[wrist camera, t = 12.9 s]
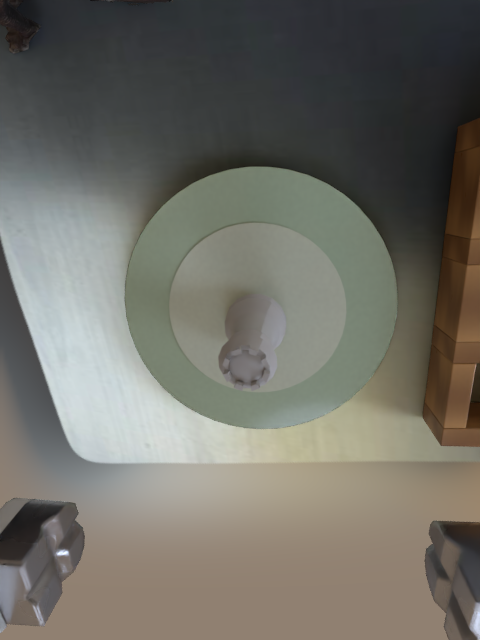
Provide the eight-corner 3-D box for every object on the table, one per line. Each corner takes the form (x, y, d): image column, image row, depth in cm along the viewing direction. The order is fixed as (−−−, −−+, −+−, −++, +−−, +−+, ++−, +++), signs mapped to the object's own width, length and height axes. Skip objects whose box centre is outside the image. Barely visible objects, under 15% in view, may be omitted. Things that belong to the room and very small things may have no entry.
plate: (110, 178, 25) (102, 177, 24) (404, 156, 23) (411, 154, 21) (149, 419, 31) (144, 427, 30) (383, 422, 29) (387, 432, 28)
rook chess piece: (245, 280, 25) (230, 314, 17) (298, 312, 25) (305, 359, 18) (215, 329, 26) (189, 380, 19) (265, 359, 27) (259, 421, 19)
